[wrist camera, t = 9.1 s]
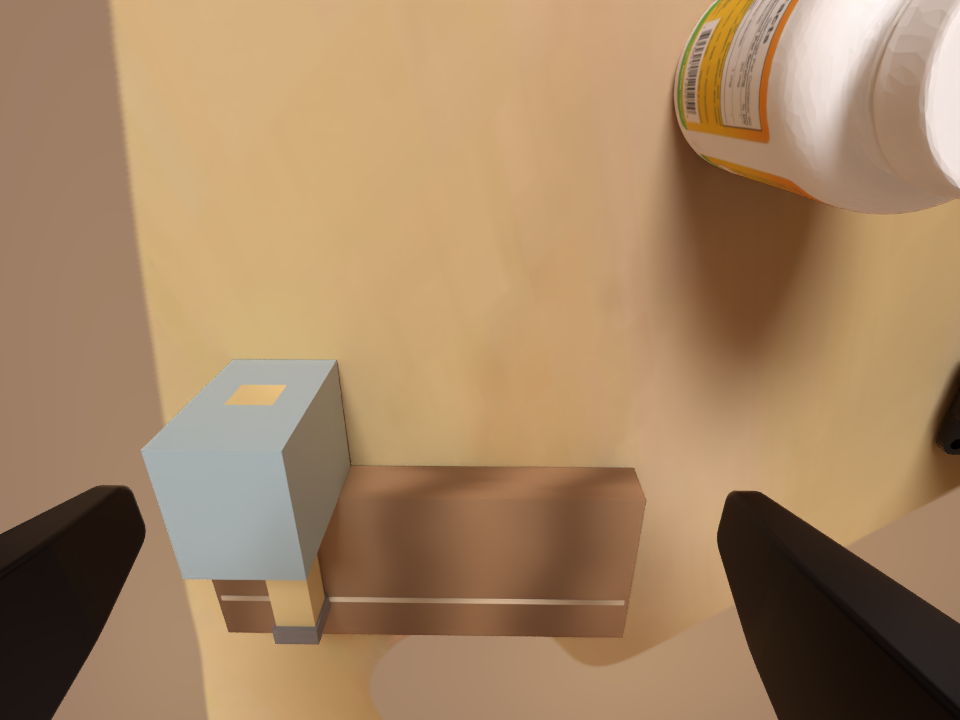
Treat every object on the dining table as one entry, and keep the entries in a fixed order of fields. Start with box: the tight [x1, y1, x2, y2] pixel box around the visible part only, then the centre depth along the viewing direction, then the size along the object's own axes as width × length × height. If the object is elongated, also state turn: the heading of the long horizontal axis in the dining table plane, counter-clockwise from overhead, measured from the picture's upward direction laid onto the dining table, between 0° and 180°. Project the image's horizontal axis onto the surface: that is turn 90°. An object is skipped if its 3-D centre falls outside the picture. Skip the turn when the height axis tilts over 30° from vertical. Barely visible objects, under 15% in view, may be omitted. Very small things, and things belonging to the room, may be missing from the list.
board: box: [212, 466, 646, 638], centre depth 24 cm, size 18×8×2 cm, turn 90°
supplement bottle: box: [674, 0, 960, 214], centre depth 12 cm, size 5×5×10 cm
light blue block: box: [141, 359, 350, 644], centre depth 20 cm, size 4×11×6 cm, turn 0°
